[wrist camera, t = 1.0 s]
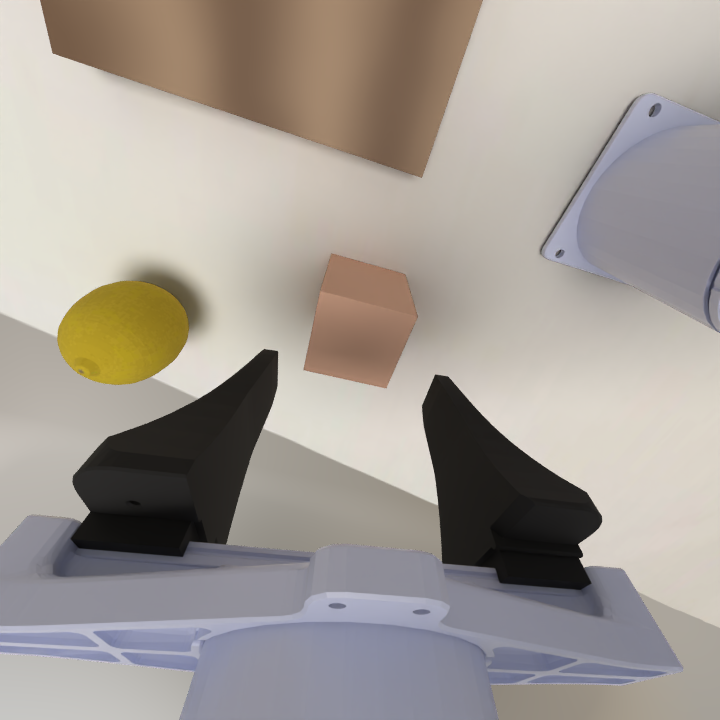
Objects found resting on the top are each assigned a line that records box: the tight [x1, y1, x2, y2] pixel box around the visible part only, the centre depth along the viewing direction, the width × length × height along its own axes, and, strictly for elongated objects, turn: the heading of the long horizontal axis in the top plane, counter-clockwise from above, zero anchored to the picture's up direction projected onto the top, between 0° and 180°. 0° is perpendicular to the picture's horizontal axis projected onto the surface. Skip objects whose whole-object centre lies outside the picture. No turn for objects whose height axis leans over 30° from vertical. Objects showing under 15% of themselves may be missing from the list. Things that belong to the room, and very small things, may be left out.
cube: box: [304, 254, 418, 388], centre depth 18 cm, size 5×5×6 cm
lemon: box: [57, 281, 189, 385], centre depth 18 cm, size 6×6×8 cm
